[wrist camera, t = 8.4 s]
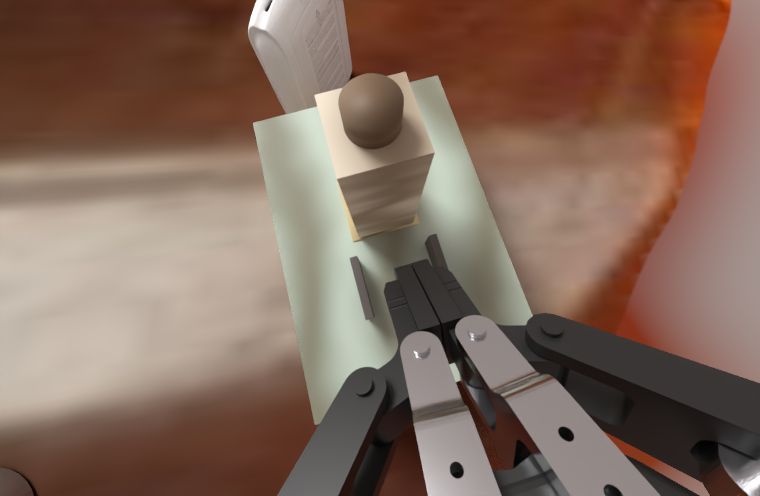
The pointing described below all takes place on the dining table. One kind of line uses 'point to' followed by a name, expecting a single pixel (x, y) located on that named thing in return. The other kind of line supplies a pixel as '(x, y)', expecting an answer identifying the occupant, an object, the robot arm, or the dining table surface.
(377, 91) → the wooden knobbed block
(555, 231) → the dining table surface
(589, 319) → the dining table surface
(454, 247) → the rectangular block
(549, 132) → the dining table surface
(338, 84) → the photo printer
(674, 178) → the dining table surface
